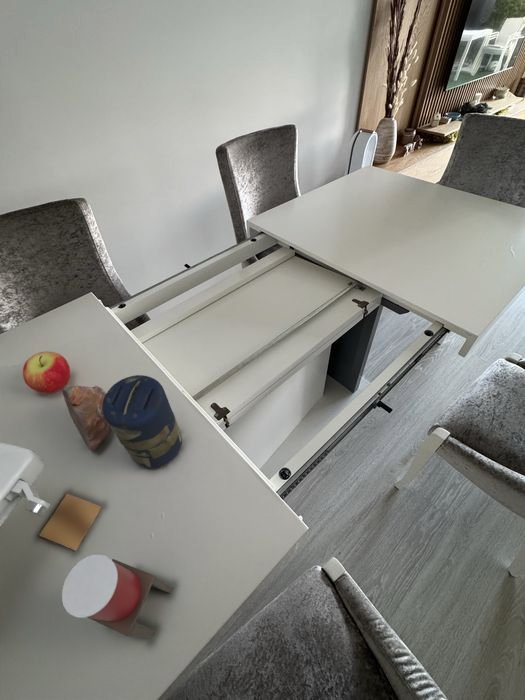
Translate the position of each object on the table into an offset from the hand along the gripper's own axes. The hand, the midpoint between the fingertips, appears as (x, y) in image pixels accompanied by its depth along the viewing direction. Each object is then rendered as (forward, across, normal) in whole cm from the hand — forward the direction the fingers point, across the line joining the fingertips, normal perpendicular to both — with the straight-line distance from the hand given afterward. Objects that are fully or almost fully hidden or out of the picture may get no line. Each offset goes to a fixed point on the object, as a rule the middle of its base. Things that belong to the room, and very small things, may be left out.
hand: (14, 551), depth 39 cm
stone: (-12, +23, +18) cm, 31 cm away
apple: (-27, +28, +18) cm, 43 cm away
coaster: (-6, +6, +17) cm, 19 cm away
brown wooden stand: (+11, 0, +17) cm, 21 cm away
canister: (+1, +22, +18) cm, 28 cm away
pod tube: (+11, 0, +6) cm, 13 cm away
